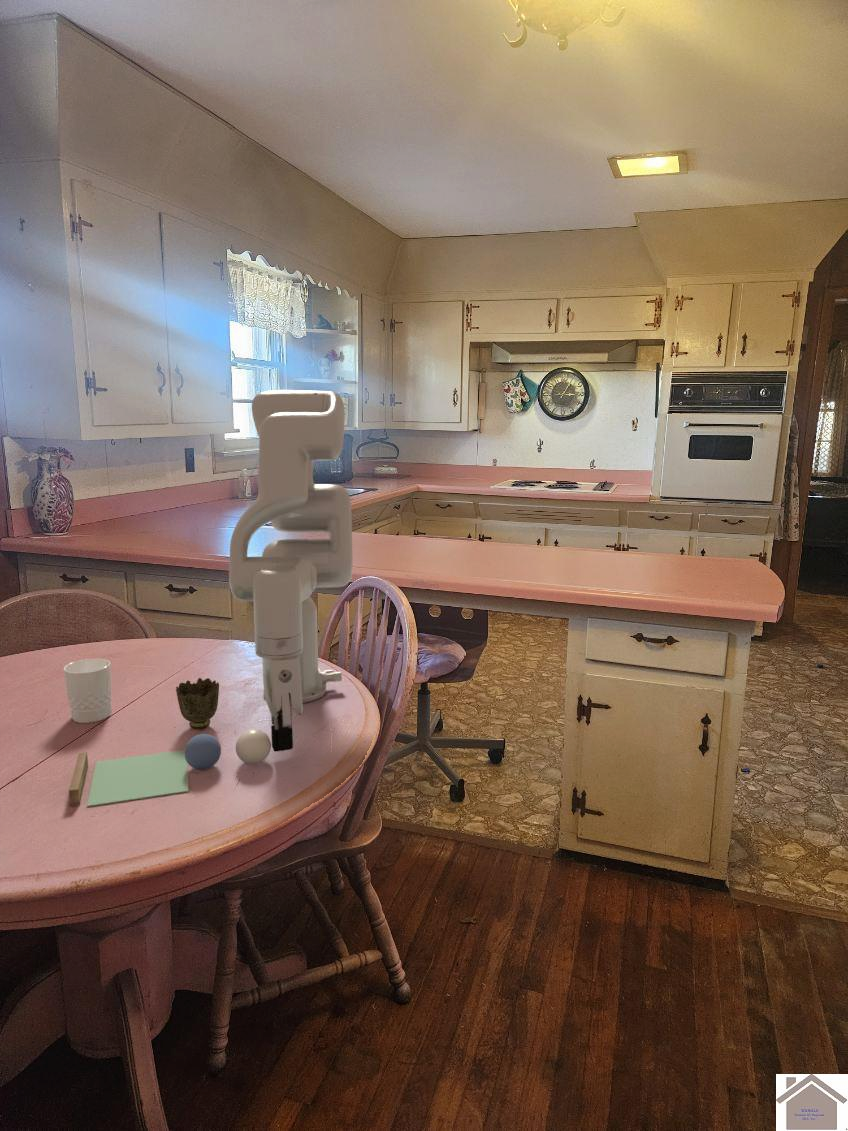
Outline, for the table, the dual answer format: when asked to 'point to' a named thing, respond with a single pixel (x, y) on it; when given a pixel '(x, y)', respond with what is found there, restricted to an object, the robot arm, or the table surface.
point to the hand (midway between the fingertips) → (282, 748)
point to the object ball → (202, 751)
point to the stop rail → (78, 779)
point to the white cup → (89, 689)
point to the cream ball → (253, 746)
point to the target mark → (138, 778)
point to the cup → (198, 702)
